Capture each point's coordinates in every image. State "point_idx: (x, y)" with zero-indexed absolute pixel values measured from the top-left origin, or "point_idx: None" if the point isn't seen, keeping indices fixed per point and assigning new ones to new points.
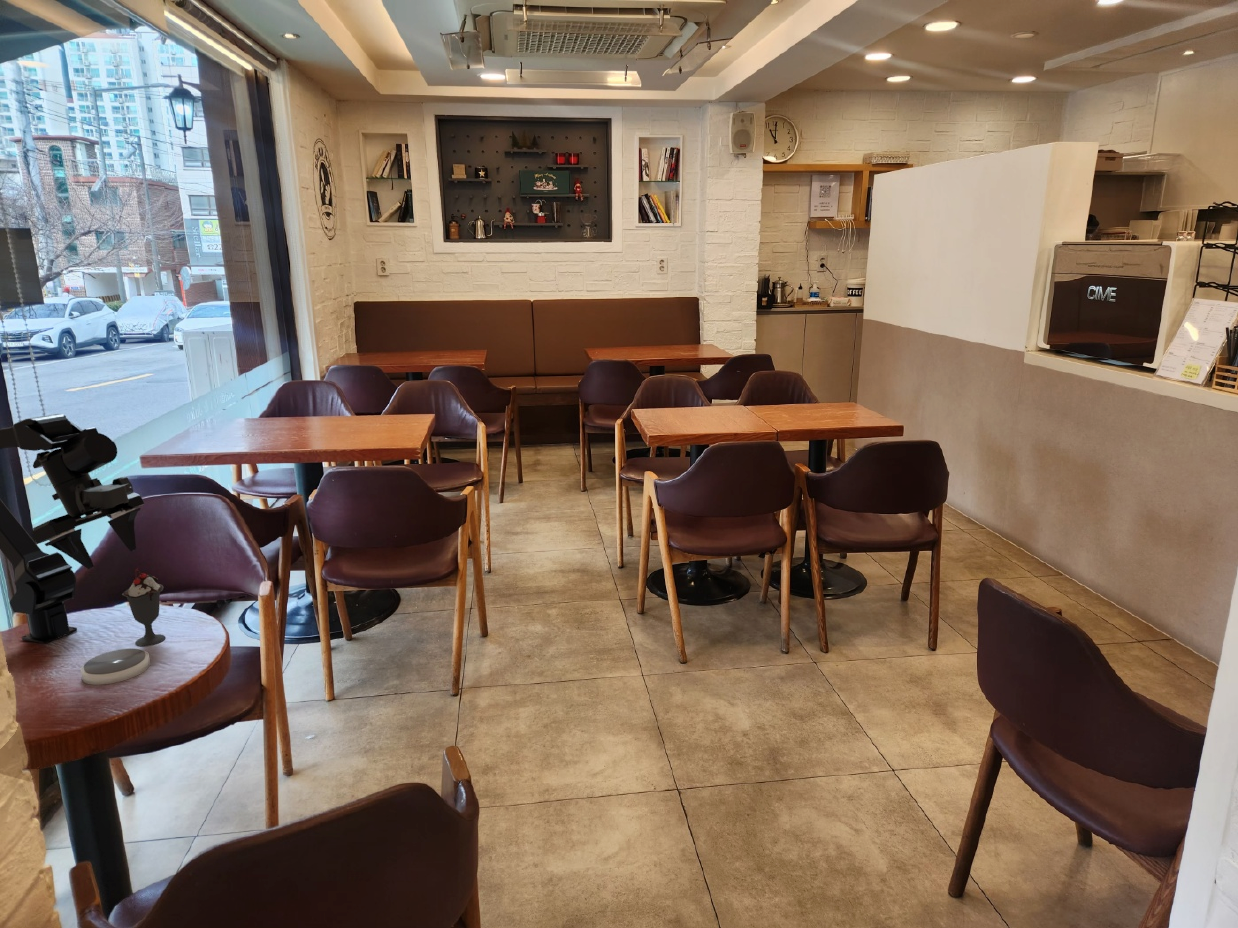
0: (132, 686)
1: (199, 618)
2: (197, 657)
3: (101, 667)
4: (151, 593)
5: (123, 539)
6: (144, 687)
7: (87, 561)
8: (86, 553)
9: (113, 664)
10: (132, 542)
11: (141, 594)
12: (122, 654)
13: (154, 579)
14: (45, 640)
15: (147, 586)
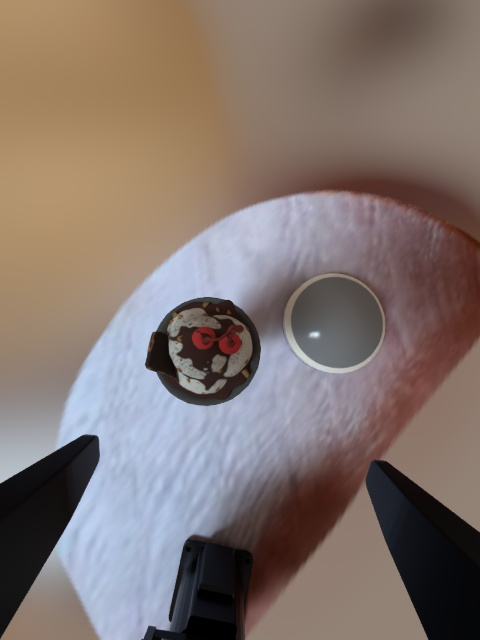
0: (370, 261)
1: (114, 325)
2: (269, 226)
3: (365, 323)
4: (231, 302)
5: (29, 569)
6: (369, 242)
7: (428, 493)
8: (467, 541)
9: (353, 310)
10: (63, 465)
11: (244, 324)
12: (315, 324)
13: (158, 340)
14: (245, 561)
15: (219, 319)
